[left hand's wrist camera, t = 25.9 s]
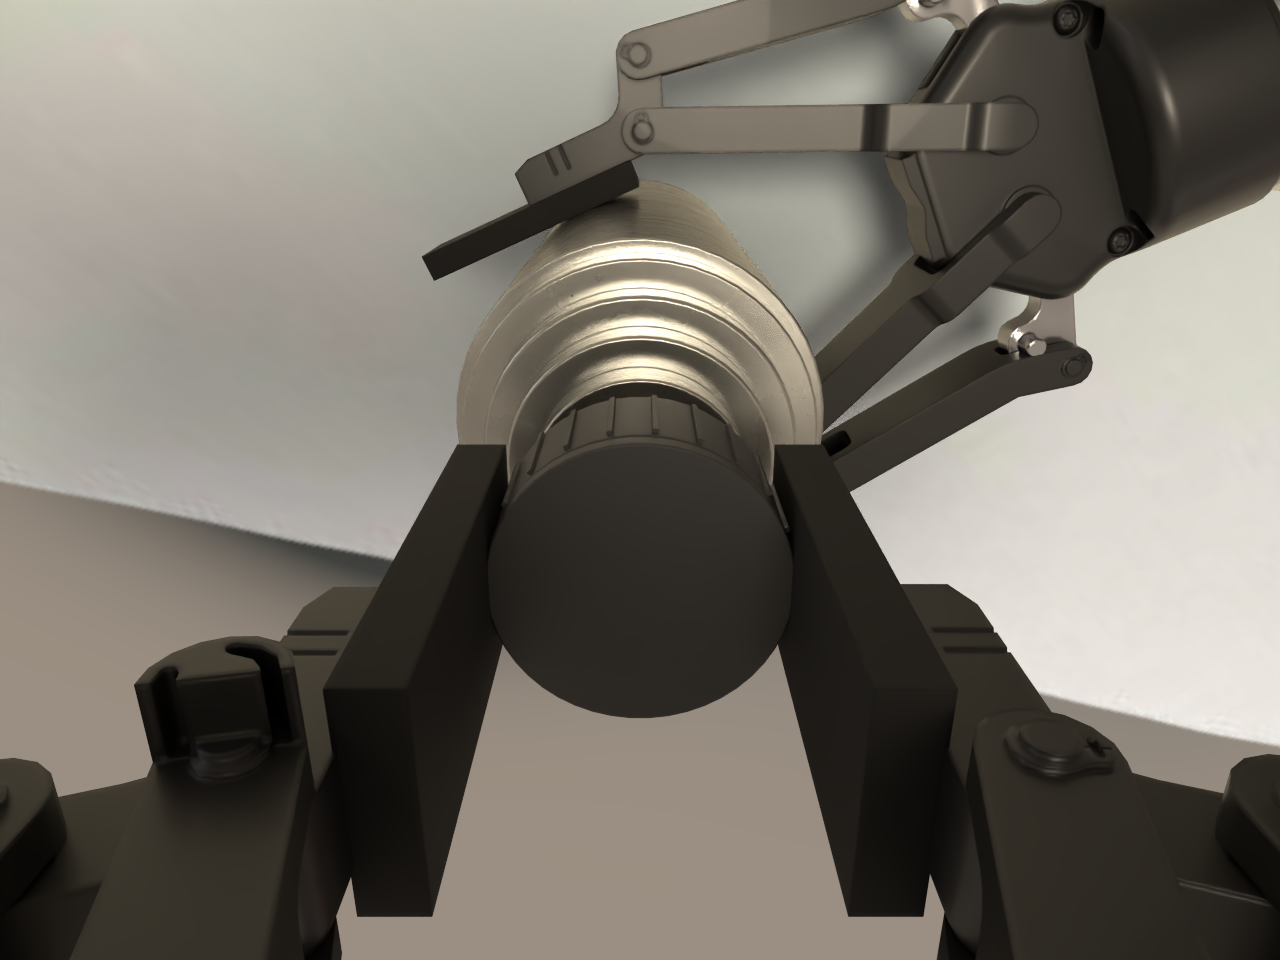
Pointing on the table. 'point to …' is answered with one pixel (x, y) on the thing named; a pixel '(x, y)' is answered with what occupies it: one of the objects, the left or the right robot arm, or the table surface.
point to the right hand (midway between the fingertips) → (501, 385)
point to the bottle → (640, 331)
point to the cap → (640, 560)
